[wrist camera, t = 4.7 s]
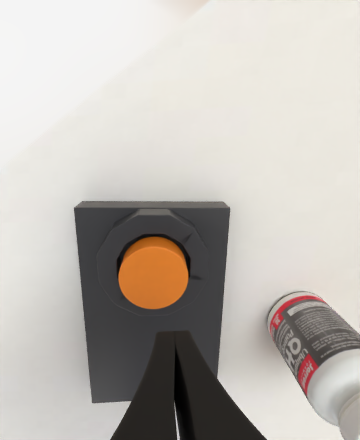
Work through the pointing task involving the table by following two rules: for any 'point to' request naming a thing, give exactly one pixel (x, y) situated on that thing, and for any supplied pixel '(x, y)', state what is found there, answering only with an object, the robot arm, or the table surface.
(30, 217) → the table surface
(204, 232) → the base
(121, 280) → the button
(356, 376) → the pill bottle
